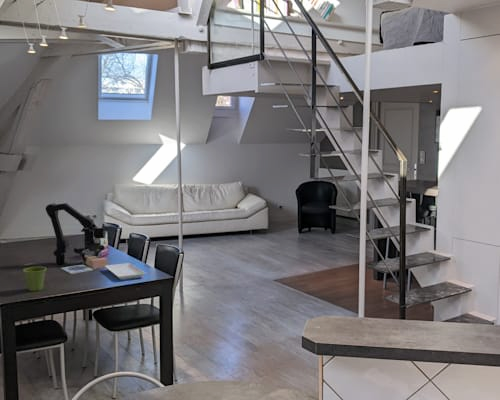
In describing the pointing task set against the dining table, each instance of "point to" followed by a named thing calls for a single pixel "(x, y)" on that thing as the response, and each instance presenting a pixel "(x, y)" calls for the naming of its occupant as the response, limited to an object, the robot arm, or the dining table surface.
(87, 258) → the brick
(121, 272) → the tray
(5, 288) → the dining table surface
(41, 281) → the plant pot
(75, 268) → the blueprint board
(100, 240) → the candy bar box
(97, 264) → the brick
